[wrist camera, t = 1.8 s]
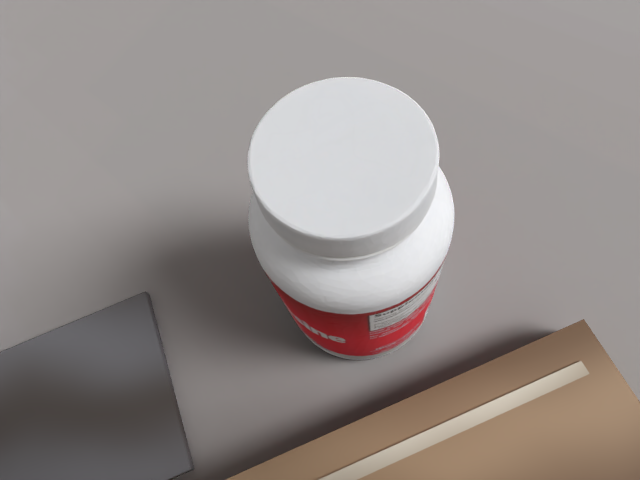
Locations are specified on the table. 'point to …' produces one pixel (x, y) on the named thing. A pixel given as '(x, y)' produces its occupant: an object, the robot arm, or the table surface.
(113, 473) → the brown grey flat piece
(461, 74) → the table surface
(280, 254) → the pill bottle
